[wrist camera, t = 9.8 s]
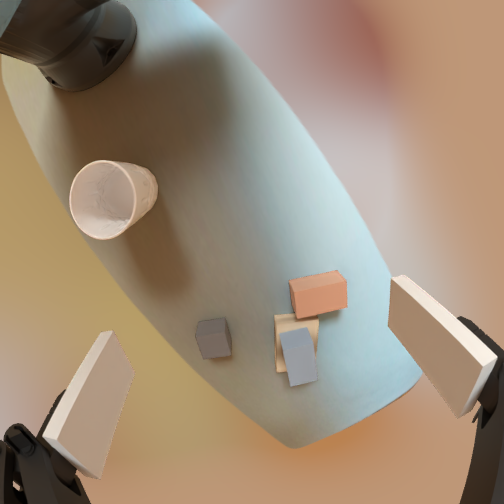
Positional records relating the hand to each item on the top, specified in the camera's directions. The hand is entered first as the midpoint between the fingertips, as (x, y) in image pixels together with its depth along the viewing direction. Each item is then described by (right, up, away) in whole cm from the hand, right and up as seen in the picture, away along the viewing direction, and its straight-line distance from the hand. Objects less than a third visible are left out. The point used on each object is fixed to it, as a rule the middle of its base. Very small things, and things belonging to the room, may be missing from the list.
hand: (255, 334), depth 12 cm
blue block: (+6, -10, +27) cm, 30 cm away
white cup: (-15, +12, +22) cm, 29 cm away
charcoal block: (-6, -8, +28) cm, 30 cm away
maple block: (+6, -9, +30) cm, 32 cm away
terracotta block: (+9, -1, +27) cm, 28 cm away
